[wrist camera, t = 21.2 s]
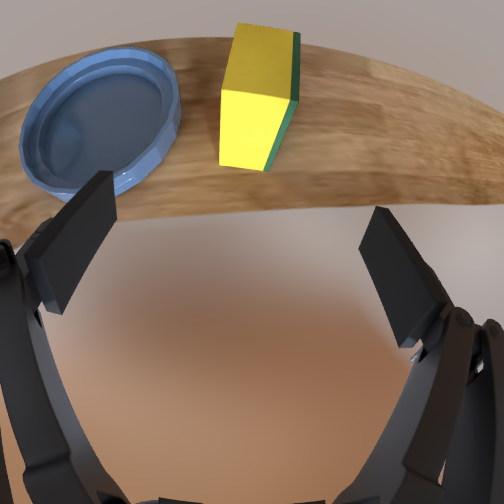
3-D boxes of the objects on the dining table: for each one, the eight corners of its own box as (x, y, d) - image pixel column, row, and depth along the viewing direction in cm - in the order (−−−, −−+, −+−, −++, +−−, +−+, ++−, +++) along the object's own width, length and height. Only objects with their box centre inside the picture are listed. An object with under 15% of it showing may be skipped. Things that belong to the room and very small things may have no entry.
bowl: (18, 200, 23) (-1, 191, 19) (67, 72, 25) (57, 55, 22) (162, 212, 24) (154, 200, 21) (197, 66, 27) (195, 45, 23)
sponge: (219, 165, 26) (221, 90, 15) (229, 104, 27) (237, 22, 16) (268, 171, 26) (298, 102, 15) (274, 110, 27) (300, 32, 16)
